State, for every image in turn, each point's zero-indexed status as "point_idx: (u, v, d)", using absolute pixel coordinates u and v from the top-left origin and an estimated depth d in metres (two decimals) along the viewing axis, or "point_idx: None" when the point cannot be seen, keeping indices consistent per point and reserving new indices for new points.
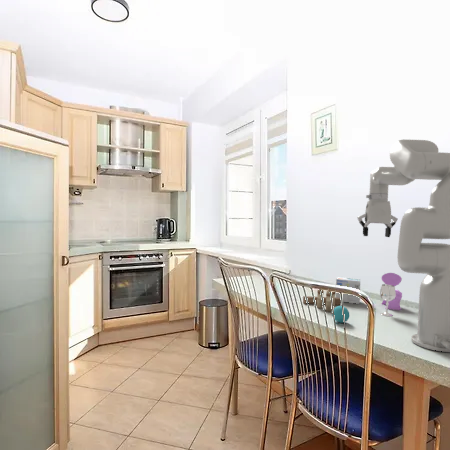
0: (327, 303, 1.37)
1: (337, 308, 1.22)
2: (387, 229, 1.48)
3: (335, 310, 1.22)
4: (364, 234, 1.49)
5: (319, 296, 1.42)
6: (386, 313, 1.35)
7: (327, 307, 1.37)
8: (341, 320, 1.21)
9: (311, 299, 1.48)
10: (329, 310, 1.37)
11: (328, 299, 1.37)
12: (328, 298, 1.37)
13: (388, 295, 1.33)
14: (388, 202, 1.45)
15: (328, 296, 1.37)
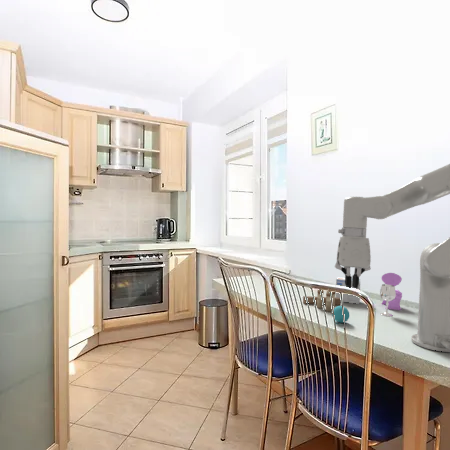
0: (327, 303, 1.37)
1: (337, 308, 1.22)
2: (354, 277, 1.13)
3: (335, 310, 1.22)
4: (347, 284, 1.14)
5: (319, 296, 1.42)
6: (386, 313, 1.35)
7: (327, 307, 1.37)
8: (341, 320, 1.21)
9: (311, 299, 1.48)
10: (329, 310, 1.37)
11: (328, 299, 1.37)
12: (328, 298, 1.37)
13: (388, 295, 1.33)
14: (366, 240, 1.11)
15: (328, 296, 1.37)
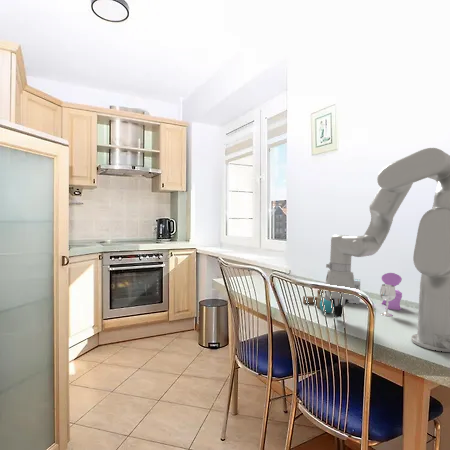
0: None
1: None
2: None
3: None
4: None
5: (319, 296, 1.42)
6: (386, 313, 1.35)
7: None
8: None
9: (311, 299, 1.48)
10: None
11: None
12: None
13: (388, 295, 1.33)
14: (351, 274, 1.23)
15: None
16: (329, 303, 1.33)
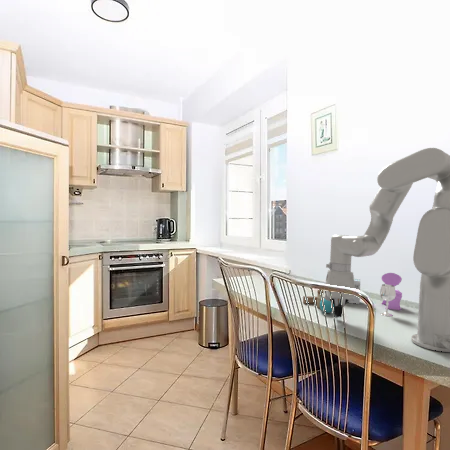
0: None
1: None
2: None
3: None
4: None
5: (319, 296, 1.42)
6: (386, 313, 1.35)
7: None
8: None
9: (311, 299, 1.48)
10: None
11: None
12: None
13: (388, 295, 1.33)
14: (351, 274, 1.23)
15: None
16: (329, 303, 1.33)
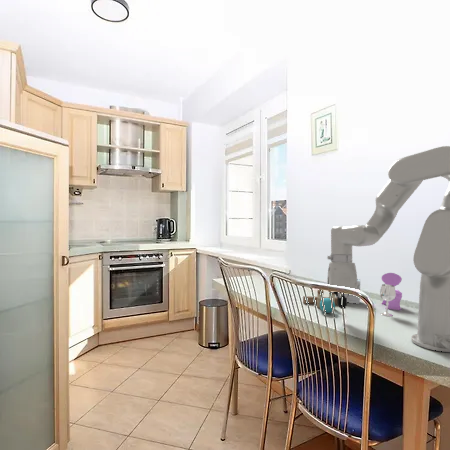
0: None
1: None
2: None
3: None
4: None
5: (319, 296, 1.42)
6: (386, 313, 1.35)
7: None
8: None
9: (311, 299, 1.48)
10: None
11: None
12: None
13: (388, 295, 1.33)
14: (353, 264, 1.23)
15: None
16: (329, 303, 1.33)
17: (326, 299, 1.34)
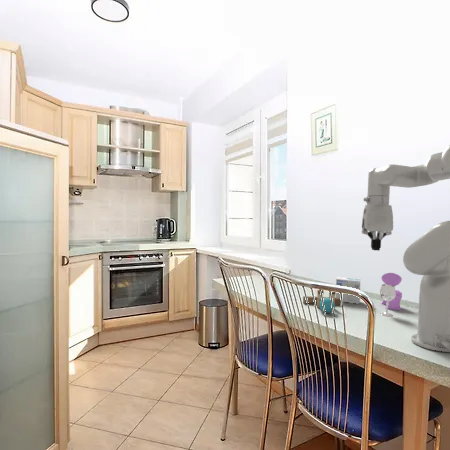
0: None
1: None
2: None
3: None
4: (373, 248, 1.26)
5: (319, 296, 1.42)
6: (386, 313, 1.35)
7: None
8: None
9: (311, 299, 1.48)
10: None
11: None
12: None
13: (388, 295, 1.33)
14: (389, 206, 1.23)
15: None
16: (329, 303, 1.33)
17: (326, 299, 1.34)
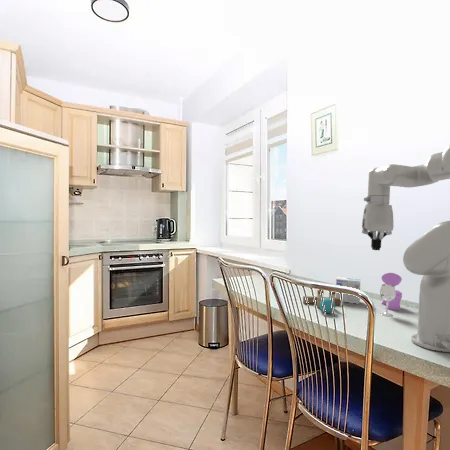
0: None
1: None
2: None
3: None
4: (373, 247, 1.26)
5: (319, 296, 1.42)
6: (386, 313, 1.35)
7: None
8: None
9: (311, 299, 1.48)
10: None
11: None
12: None
13: (388, 295, 1.33)
14: (390, 206, 1.23)
15: None
16: (329, 303, 1.33)
17: (326, 299, 1.34)
